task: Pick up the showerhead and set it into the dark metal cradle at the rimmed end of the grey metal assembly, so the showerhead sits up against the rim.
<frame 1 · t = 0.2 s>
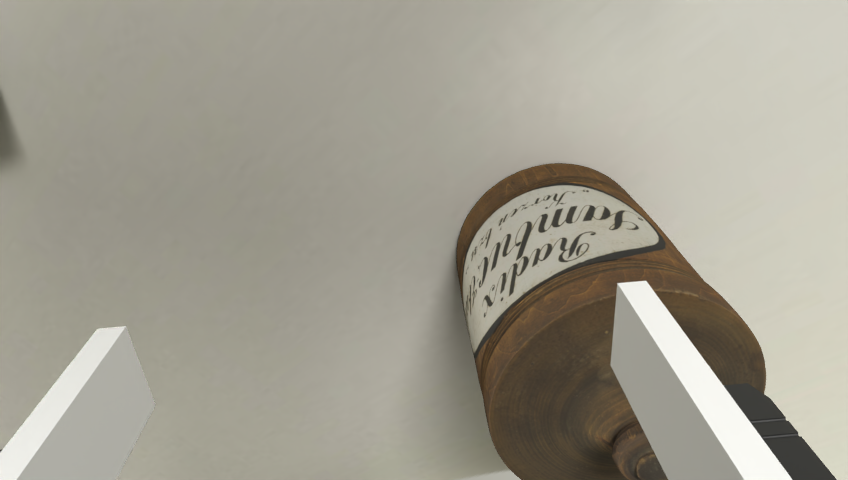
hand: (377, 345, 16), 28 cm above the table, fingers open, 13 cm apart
wooden container: (547, 248, 47), on the table
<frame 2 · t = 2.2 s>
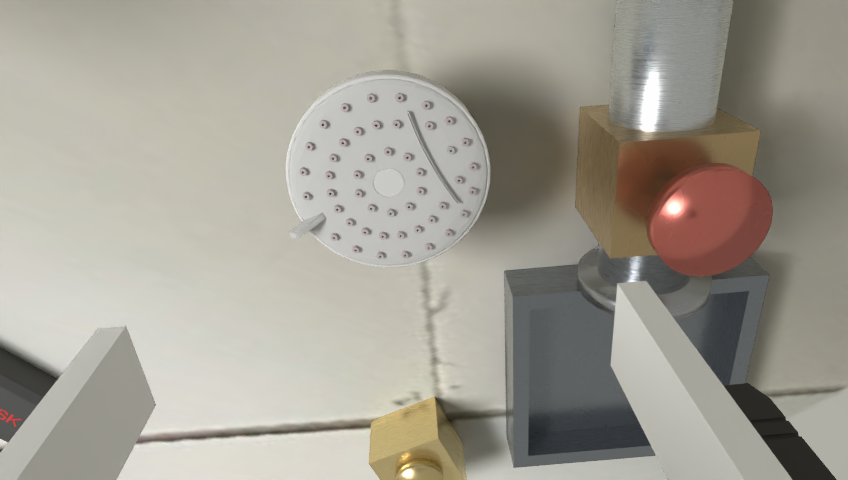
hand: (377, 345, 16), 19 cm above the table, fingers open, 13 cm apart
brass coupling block: (417, 430, 43), on the table
usb drive: (19, 382, 40), on the table
metal assembly: (614, 350, 40), on the table
showerhead: (386, 140, 33), on the table
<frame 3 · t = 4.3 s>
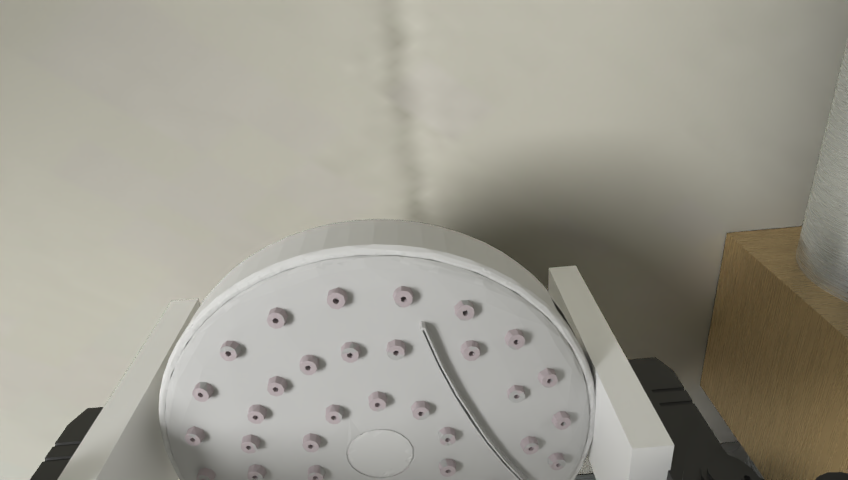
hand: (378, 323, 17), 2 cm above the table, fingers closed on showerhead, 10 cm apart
showerhead: (379, 288, 18), on the table, touching gripper
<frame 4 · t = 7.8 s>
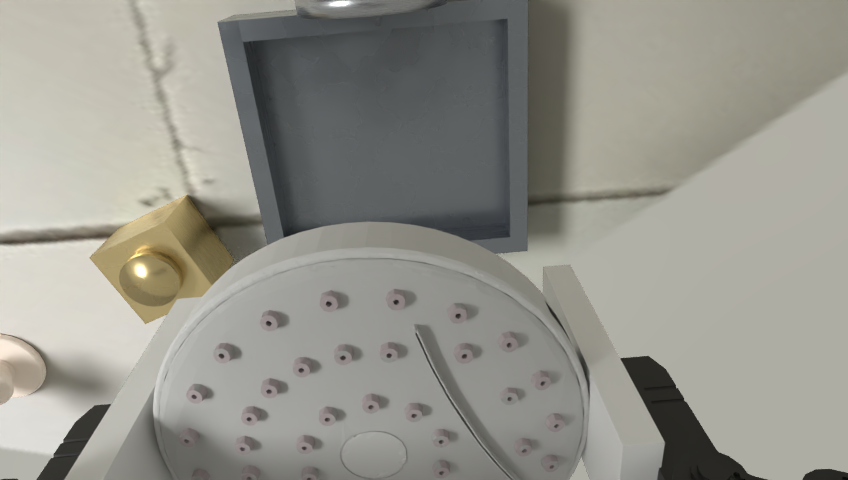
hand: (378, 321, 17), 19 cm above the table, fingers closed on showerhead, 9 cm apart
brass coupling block: (178, 243, 37), on the table
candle: (8, 362, 40), on the table
metal assembly: (389, 132, 34), on the table
showerhead: (375, 288, 18), point 17 cm above the table, touching gripper
when the fingers open (5 cm above the table, at t = 11.2 s): showerhead drops 2 cm, resting on metal assembly.
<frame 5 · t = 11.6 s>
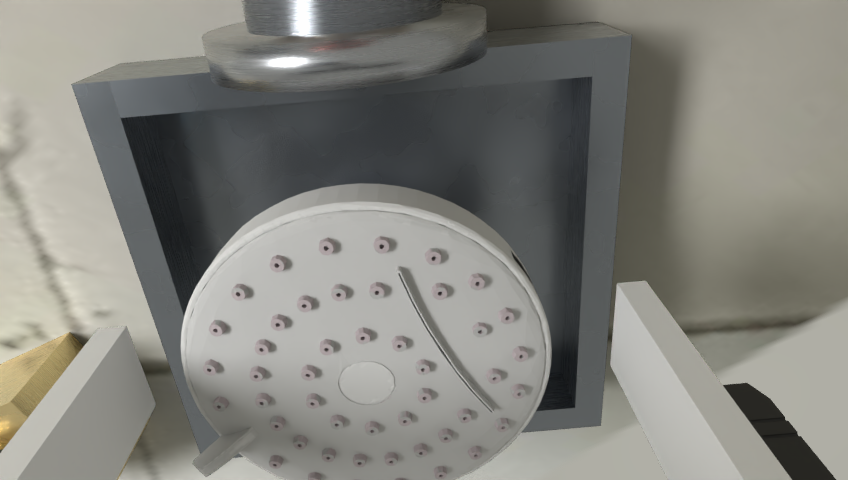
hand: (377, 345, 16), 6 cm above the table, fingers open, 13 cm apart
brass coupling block: (64, 396, 24), on the table
metal assembly: (383, 241, 21), on the table
showerhead: (372, 255, 21), point 1 cm above the table, touching metal assembly
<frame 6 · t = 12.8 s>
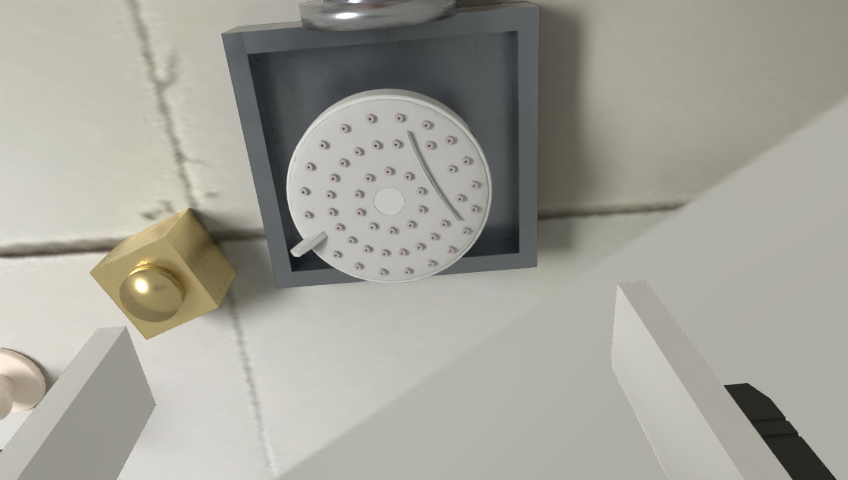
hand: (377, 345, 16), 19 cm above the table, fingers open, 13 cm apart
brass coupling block: (180, 256, 36), on the table
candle: (8, 376, 40), on the table
metal assembly: (395, 145, 33), on the table
showerhead: (388, 151, 32), point 1 cm above the table, touching metal assembly
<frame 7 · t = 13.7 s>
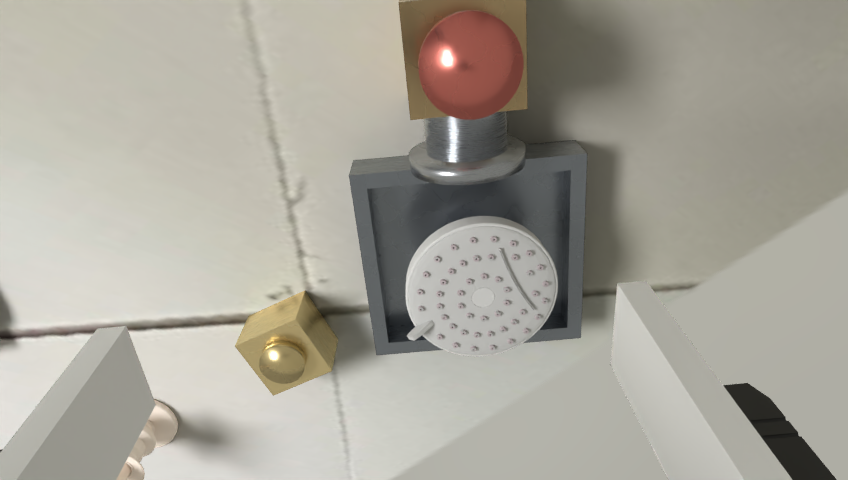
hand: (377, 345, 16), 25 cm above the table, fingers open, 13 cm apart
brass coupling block: (294, 327, 45), on the table
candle: (147, 419, 49), on the table
metal assembly: (469, 243, 42), on the table
showerhead: (465, 250, 42), point 1 cm above the table, touching metal assembly
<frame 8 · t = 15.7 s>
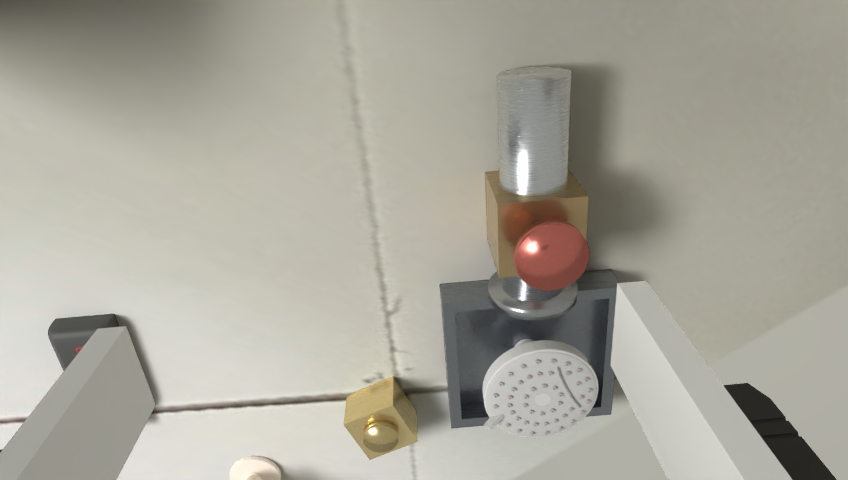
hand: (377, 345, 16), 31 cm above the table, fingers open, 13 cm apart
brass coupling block: (382, 402, 57), on the table
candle: (256, 472, 61), on the table
usb drive: (109, 366, 54), on the table
metal assembly: (525, 341, 54), on the table
showerhead: (522, 348, 53), point 1 cm above the table, touching metal assembly
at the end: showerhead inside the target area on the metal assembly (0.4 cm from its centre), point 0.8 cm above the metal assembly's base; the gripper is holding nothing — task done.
